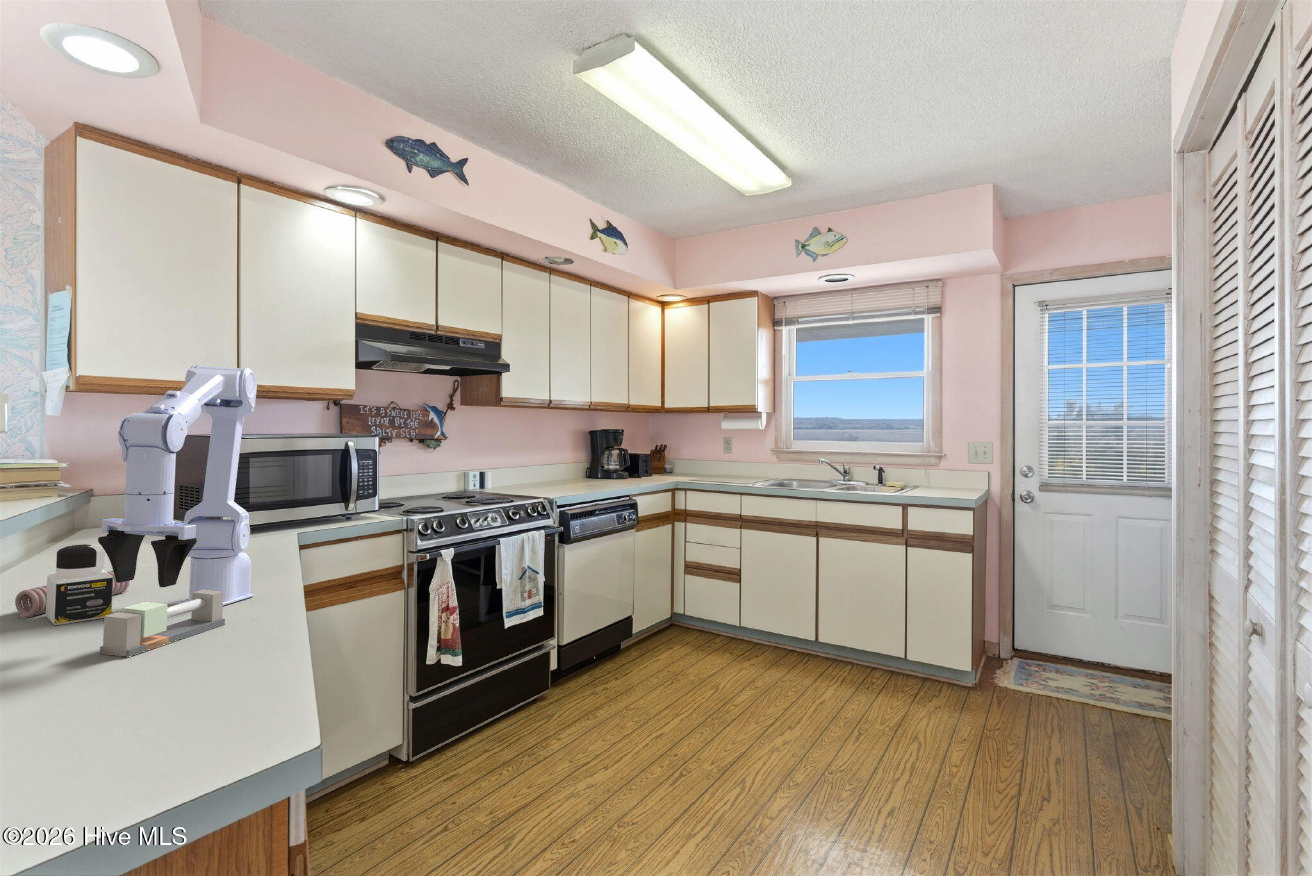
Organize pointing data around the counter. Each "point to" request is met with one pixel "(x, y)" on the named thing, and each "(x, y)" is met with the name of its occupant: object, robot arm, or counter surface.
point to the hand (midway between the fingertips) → (146, 583)
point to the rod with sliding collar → (205, 616)
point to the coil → (40, 593)
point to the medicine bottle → (79, 585)
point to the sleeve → (150, 617)
